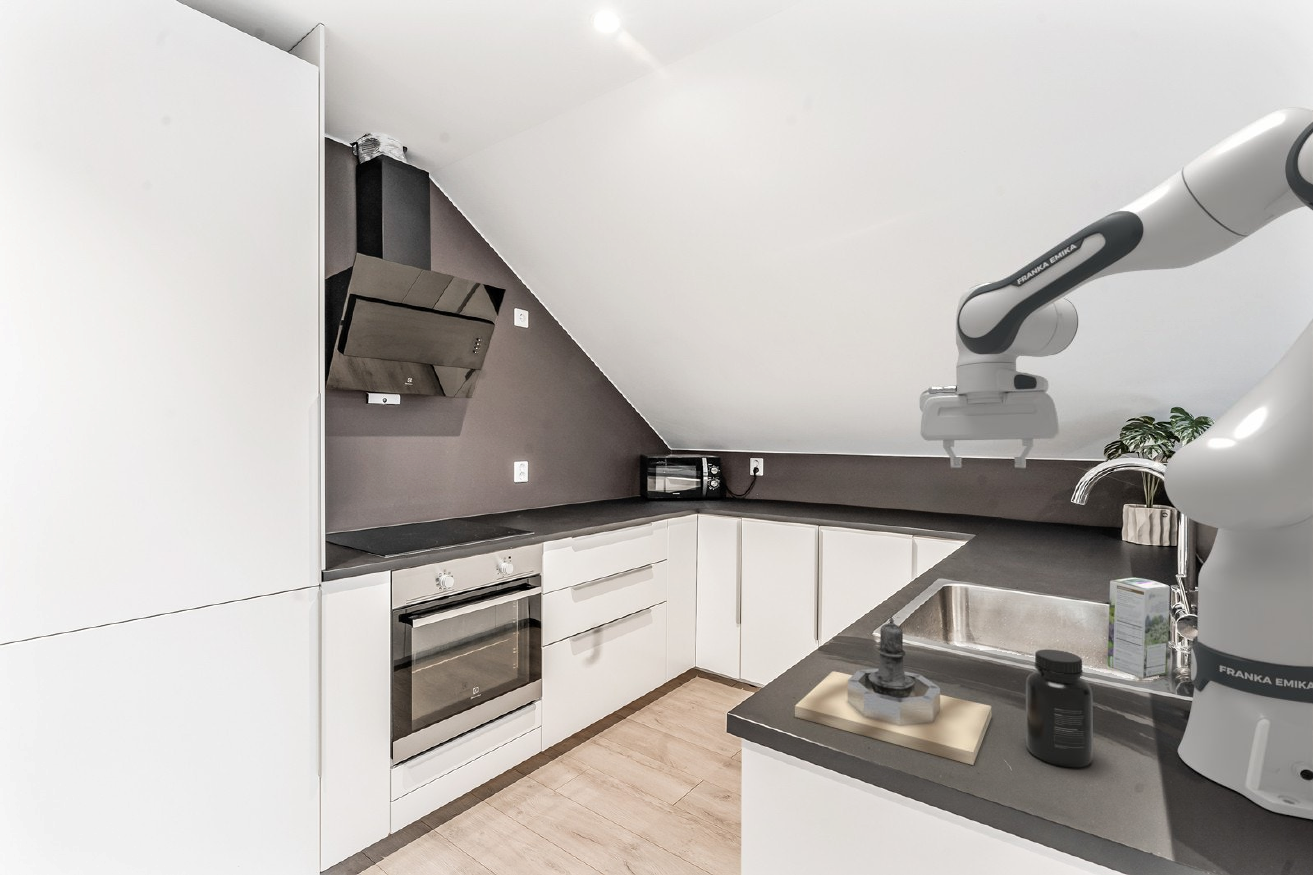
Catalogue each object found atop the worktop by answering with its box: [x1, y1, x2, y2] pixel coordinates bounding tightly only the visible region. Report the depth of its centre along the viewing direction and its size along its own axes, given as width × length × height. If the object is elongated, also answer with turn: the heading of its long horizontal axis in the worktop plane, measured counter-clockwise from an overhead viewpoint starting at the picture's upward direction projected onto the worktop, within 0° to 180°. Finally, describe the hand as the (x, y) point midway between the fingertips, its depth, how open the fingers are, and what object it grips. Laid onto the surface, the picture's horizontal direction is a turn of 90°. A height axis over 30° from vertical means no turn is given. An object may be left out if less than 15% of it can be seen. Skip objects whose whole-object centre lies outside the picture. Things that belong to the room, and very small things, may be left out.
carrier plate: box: [794, 670, 993, 766], centre depth 88 cm, size 22×15×2 cm
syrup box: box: [1107, 577, 1171, 680], centre depth 104 cm, size 6×6×14 cm
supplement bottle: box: [1025, 648, 1094, 768], centre depth 78 cm, size 7×7×12 cm
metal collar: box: [848, 668, 941, 726], centre depth 88 cm, size 11×11×3 cm
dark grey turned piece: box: [869, 617, 914, 698], centre depth 88 cm, size 6×6×12 cm
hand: (987, 467), depth 106 cm, fingers open, 8 cm apart
